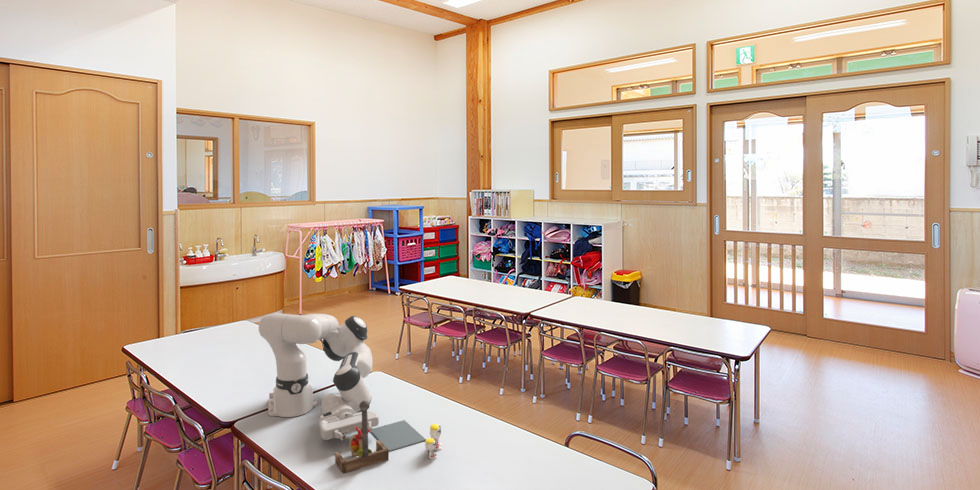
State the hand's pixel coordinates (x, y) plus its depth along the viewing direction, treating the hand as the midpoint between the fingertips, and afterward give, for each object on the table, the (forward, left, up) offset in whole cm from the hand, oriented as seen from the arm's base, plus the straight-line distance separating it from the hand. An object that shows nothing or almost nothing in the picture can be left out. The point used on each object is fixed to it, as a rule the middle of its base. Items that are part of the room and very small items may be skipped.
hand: (357, 433), depth 182 cm
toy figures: (+15, +22, -6) cm, 27 cm away
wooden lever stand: (+8, -1, -6) cm, 10 cm away
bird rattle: (+5, -1, -6) cm, 8 cm away
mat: (-2, +16, -6) cm, 17 cm away
